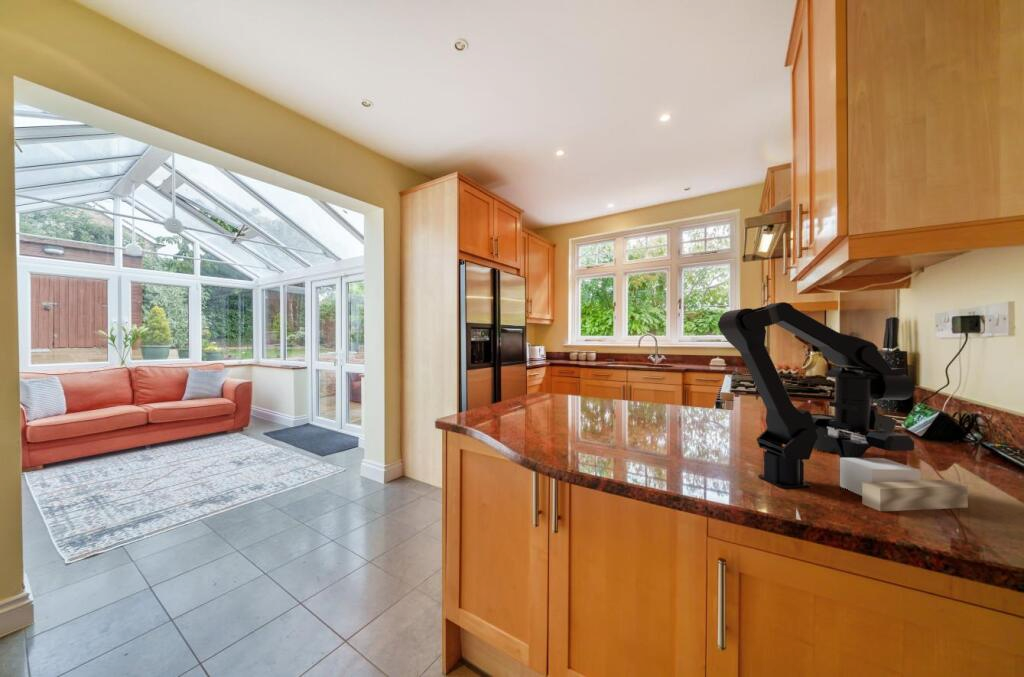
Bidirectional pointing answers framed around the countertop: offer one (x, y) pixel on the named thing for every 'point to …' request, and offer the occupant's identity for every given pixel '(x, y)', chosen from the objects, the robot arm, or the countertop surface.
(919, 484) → the board
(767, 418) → the robot arm
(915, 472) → the block
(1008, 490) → the countertop surface
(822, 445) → the mug
